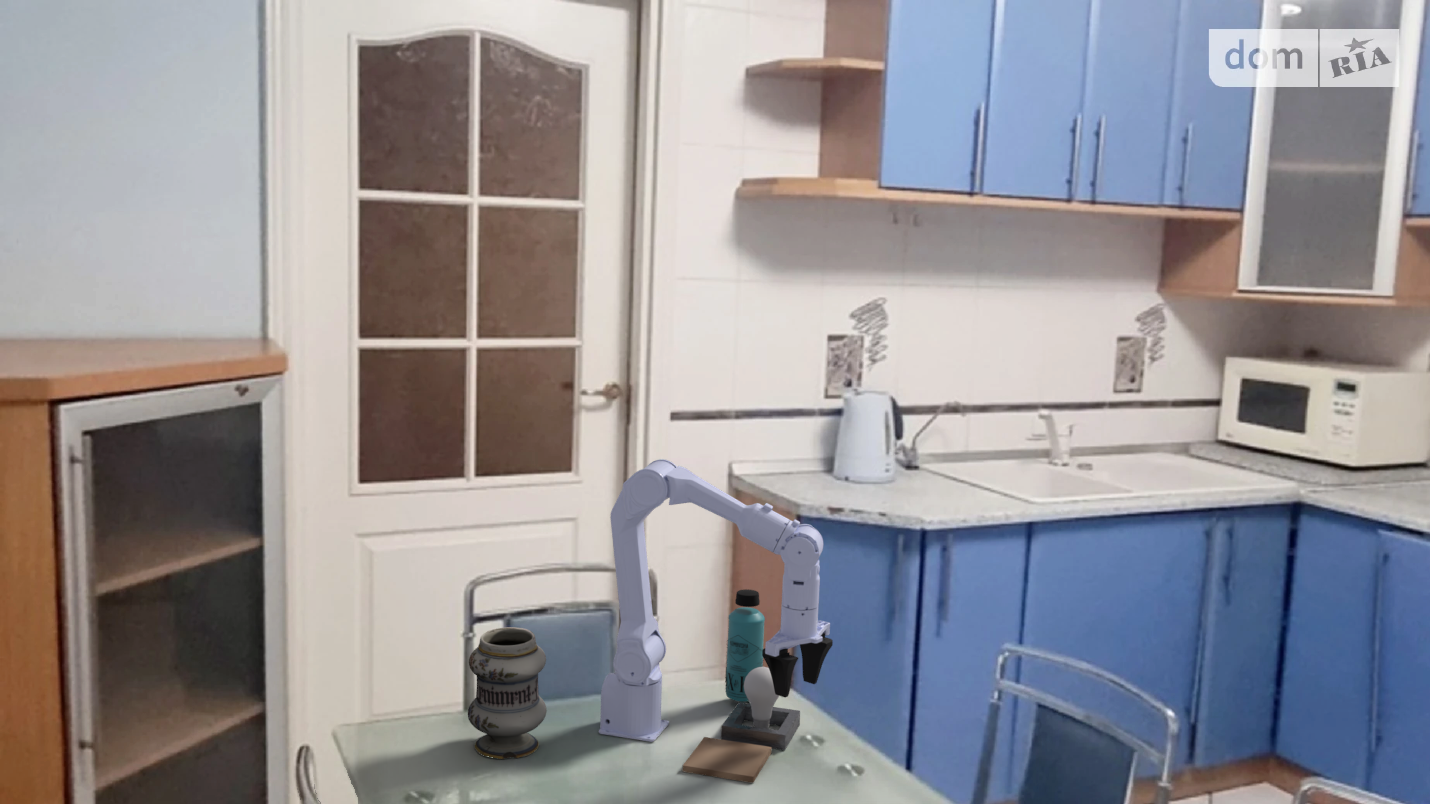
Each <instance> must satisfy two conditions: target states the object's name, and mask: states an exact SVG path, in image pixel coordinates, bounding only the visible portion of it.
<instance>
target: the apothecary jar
mask: <svg viewBox="0 0 1430 804" xmlns="http://www.w3.org/2000/svg"><path fill="white" fill-rule="evenodd" d="M546 662H547V656H546V653H545V651H544V650H543V649H542V647H540V646H539V645H538V644H537V641H536V635H535V633H534V632H532V631H531V630H529V629H527V628H525V627H524V628H523V627H512V626H511V627H510V626H509V627H507V626H506V627H498V628H494V629H490V630H487V631H486V632H483V634H481V636H480V639H479V643H478V646H477V647H476V648H475V649H474V650H473V651H472V652H471V654H470V656H469V659H468V666H469V669H470V671H471V672H472V673H473V674H474V675H475V676H476V689H475V690H476V692H475V694H476V695H475V698H474V699H473V700H472V701H471V703H470V704H469V706H468V709H467V718H468V721H469V723H470V724H471V725H472V726H473V727H474V728H475V729H476V730H478V731H479V732H481V733H484V735H482V736H481V737H479V738H478V739H476V741H475V743H474V750H475V751H476V750H477V751H476V752H477V753H478V754H479V753H480V754H479V755H481V754H482V755H484V756H483V757H485V756H489V757H493V758H498V759H497V760H505V759H504V758H507V759H510V757H511V758H512V757H514V758H513V759H519V758H520V757H521V758H524V757H527V756H530V755H531V754H533V753H534V752H536V751H537V750H538V748H539V744H540V743H539V740H538V739H537V738H536V736H534V735H533V734H531V733H530V732H531V731H534V730H535V729H537V728H538V727H539V726H540V725H541V724H542V723H543V722H544V720H545V719H546V716H547V711H548V710H547V705H546V702H545V701H544V699H543V698H542V697H541V696H540V693H539V673H540V672H542V671H543V670H544V668H545V666H546ZM482 755H481V756H482ZM523 756H524V757H523ZM493 758H492V759H493Z"/></svg>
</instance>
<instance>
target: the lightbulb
mask: <svg viewBox="0 0 1430 804" xmlns="http://www.w3.org/2000/svg"><path fill="white" fill-rule="evenodd" d="M744 691H745V694H746V696H747V698H748V700H749V701H748V702H749V703H750V704H751V709H752V717H753V722H752V723H753V727H760V728H766V729H770V724H769V722H770V718H771V714H772V709H773V707H775V706H774V705H775V704H776V702H777V700H778V699H779V697H780V696H779V695H776V694H775V690H774V686H773V681H772V677H771V673H770V670H769V668H768V666H767V667H766V666H763V667H758V668H755V669H753V670H751V671H750V672H749V673H748V675H747V676H746V678H745V681H744Z"/></svg>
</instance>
